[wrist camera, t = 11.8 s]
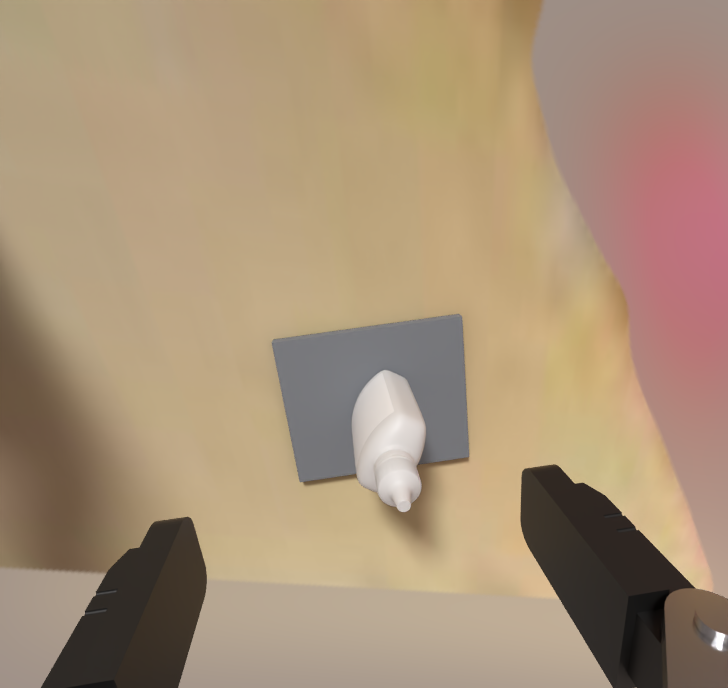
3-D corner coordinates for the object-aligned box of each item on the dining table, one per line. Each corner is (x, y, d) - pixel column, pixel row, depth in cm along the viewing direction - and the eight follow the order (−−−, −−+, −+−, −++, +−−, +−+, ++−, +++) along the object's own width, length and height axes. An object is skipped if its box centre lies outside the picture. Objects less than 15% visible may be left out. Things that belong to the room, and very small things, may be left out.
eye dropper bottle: (332, 400, 32) (333, 505, 21) (394, 360, 32) (429, 446, 20) (364, 441, 34) (380, 561, 22) (423, 403, 33) (472, 507, 22)
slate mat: (300, 476, 35) (299, 482, 34) (273, 339, 31) (271, 343, 31) (466, 451, 36) (469, 456, 35) (458, 313, 32) (462, 316, 31)
